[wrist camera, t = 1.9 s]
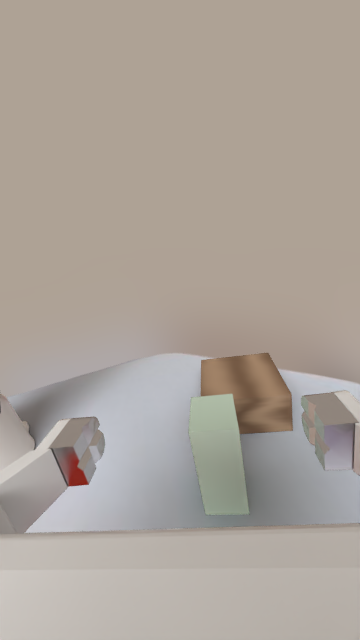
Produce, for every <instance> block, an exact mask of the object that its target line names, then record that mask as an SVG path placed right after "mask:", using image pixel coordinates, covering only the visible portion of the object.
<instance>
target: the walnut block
mask: <svg viewBox="0 0 360 640" xmlns="http://www.w3.org/2000/svg"><path fill="white" fill-rule="evenodd" d="M223 394H232V395H233V400H234V405H235V411H236V416H237V421H238V427H239V434H248V433H263V432H278V431H293V425H292V398H291V393H290V391H289V389H288V387H287V386H286V384H285V382H284V380H283V378H282V377H281V375H280V373H279V371H278V370H277V368H276V366H275V365H274V363H273V361H272V360H271V357H270V355H269V354H268V353H261V354H253V355H243V356H234V357H226V358H216V359H207V360H201V396H212V395H223Z"/></svg>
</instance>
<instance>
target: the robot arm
mask: <svg viewBox="0 0 360 640" xmlns="http://www.w3.org/2000/svg"><path fill="white" fill-rule="evenodd" d="M301 406H302V407H303V409H304V411H305V412H304V413H303V414H302V424H303V428H304V432H305V434H306V437H307V439H308V441H309V442H310V443H311V444H313V445H314V446H315V454H316V455H317V457H318V459H319V461H320V463H321V464H322V466H323V468H324V470H325V471H328V470H353V471H354V472H355V473H357V474H358V475H359V476H360V402H359V401H358V400H357V399H356V398H355V397H354V396H353V395H352V394H351V393H350V392H348V391H346V390H344V391H336V392H331V393H323V394H314V395H304V396H302V398H301ZM99 425H100V424H99V421H98V419H97V418H96V417H82V418H72V419H62V420H60V421H58V422H57V423H56V425H55V426H54V427H53V428H52V430H51V431H50V432H49V433H48V434H47V436H46V437H45V438H44V439H43V441H42V442H41V443H40V444H39V446H38V447H37V448H36V449H35V450H34V447H35V442H34V439H33V438H32V437H31V436H30V434H29V425H28V423H27V422H26V421H21V420H20V418H19V416H18V415H17V413H16V412H15V410H14V409H13V407H12V406H11V404H10V402H9V401H8V399H7V398H6V397H5V396H4V395H2V394H0V640H360V523H345V524H312V525H279V526H246V527H214V528H180V529H147V530H114V531H81V532H48V533H24V532H25V531H26V530H27V529H28V528H29V527H30V526H31V525H32V524H33V523H34V522H35V521H36V520H37V519H38V518H39V517H40V516H41V515H42V514H43V513H44V512H45V511H46V510H47V509H48V508H49V507H50V506H51V505H52V504H53V503H54V502H55V500H56V499H57V498H58V497H59V496H60V495H61V494H62V493H63V492H64V491H65V490H66V489H67V488H68V486H79V485H89V483H90V481H91V479H92V477H93V474H94V472H95V470H96V465H95V463H96V462H97V461H98V460H100V459H101V457H102V455H103V453H104V448H105V439H104V435H103V433H102V432H101V431H100V430H98V428H99Z"/></svg>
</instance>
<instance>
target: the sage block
mask: <svg viewBox="0 0 360 640" xmlns="http://www.w3.org/2000/svg"><path fill="white" fill-rule="evenodd" d="M189 437H190V442H191V447H192V452H193V457H194V461H195V466H196V471H197V476H198V481H199V486H200V490H201V495H202V500H203V505H204V510H205V515H244V514H249V506H248V498H247V490H246V482H245V474H244V466H243V458H242V450H241V442H240V434H239V427H238V421H237V416H236V411H235V405H234V400H233V395H232V394H223V395H212V396H201V397H191V406H190V419H189Z"/></svg>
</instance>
